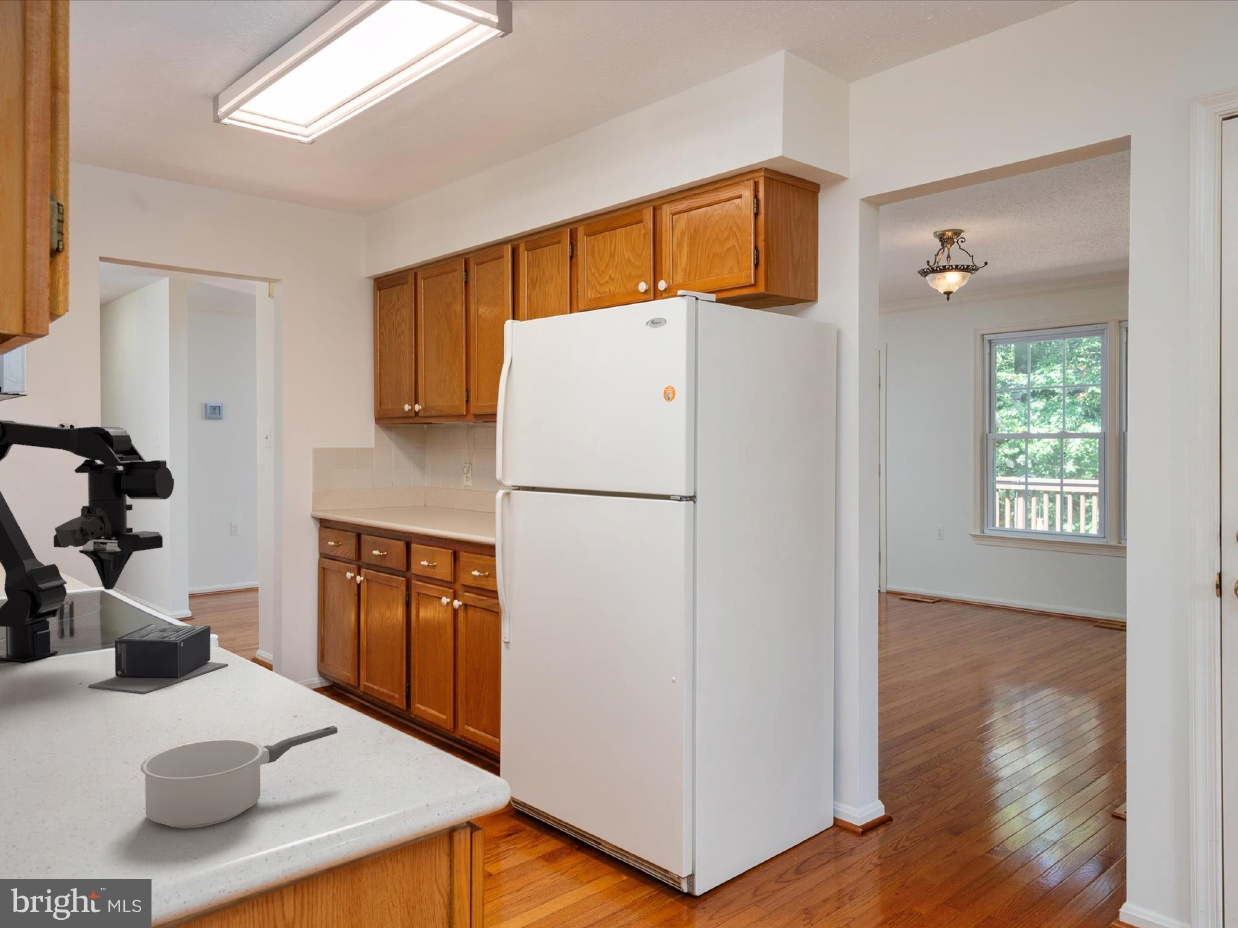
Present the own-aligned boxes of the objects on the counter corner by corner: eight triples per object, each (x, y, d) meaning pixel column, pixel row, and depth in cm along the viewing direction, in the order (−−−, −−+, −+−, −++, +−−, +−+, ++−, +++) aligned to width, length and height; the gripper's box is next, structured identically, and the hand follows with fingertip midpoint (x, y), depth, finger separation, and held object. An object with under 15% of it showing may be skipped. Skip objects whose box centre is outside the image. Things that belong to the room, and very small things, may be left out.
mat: (88, 686, 134) (88, 685, 134) (176, 660, 150) (176, 658, 150) (144, 693, 131) (144, 691, 131) (228, 665, 147) (228, 663, 147)
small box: (113, 679, 138) (179, 680, 138) (112, 638, 138) (178, 639, 137) (151, 660, 149) (212, 661, 148) (150, 622, 148) (211, 623, 148)
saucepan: (359, 789, 96) (358, 739, 96) (160, 847, 82) (159, 789, 82) (314, 760, 104) (314, 714, 104) (127, 809, 91) (126, 756, 90)
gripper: (22, 501, 146) (24, 594, 147) (108, 504, 140) (110, 600, 141) (82, 496, 157) (83, 583, 157) (164, 499, 151) (165, 589, 151)
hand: (108, 589), depth 151 cm, fingers closed
